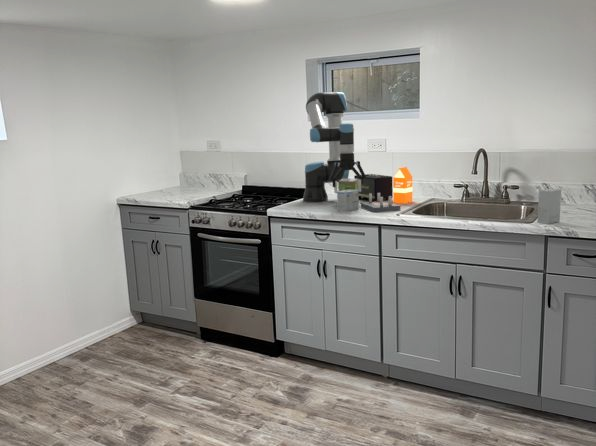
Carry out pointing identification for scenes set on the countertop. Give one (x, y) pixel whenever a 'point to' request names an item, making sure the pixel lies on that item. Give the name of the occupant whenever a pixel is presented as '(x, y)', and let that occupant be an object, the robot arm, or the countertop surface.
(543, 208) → the skincare box
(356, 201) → the light bulb box
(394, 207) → the pin tray
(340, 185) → the tea box
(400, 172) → the orange juice
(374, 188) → the speaker
